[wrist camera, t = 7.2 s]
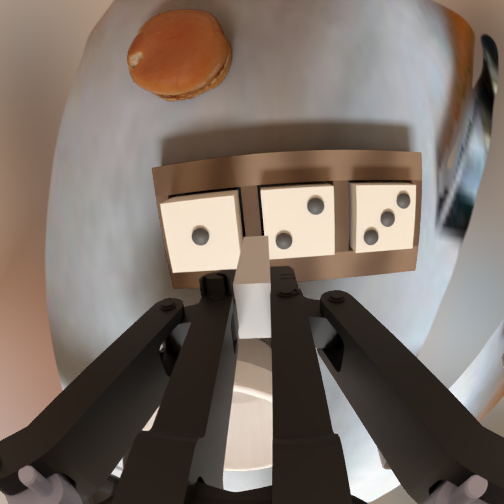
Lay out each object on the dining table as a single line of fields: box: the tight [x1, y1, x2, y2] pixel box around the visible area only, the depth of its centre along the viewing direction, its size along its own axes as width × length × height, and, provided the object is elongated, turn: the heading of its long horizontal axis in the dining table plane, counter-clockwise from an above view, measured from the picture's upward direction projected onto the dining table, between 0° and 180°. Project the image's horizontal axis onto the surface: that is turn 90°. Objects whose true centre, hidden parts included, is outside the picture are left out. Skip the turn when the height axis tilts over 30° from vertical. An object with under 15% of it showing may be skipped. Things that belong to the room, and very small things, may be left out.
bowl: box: [143, 333, 273, 471], centre depth 29 cm, size 19×19×11 cm
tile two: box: [261, 182, 335, 260], centre depth 24 cm, size 6×6×4 cm
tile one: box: [160, 190, 243, 273], centre depth 23 cm, size 6×6×4 cm
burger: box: [127, 9, 232, 101], centre depth 19 cm, size 10×9×5 cm
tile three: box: [348, 180, 416, 253], centre depth 24 cm, size 6×6×4 cm
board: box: [152, 150, 422, 289], centre depth 25 cm, size 25×12×2 cm, turn 95°
